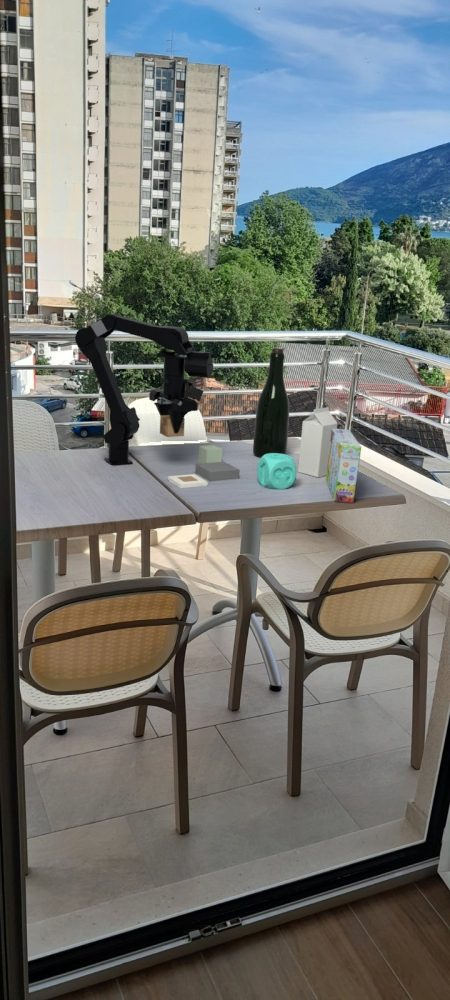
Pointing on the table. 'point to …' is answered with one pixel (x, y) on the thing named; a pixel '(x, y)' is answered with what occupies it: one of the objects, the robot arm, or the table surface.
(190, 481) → the tile
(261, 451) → the green wine bottle
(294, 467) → the decorative dice
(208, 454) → the sage cube
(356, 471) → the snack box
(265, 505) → the table surface
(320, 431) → the milk carton
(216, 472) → the charcoal base block
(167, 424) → the walnut cube
